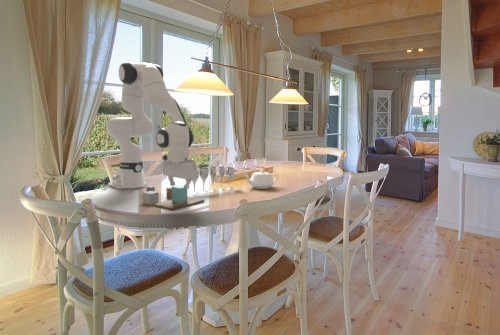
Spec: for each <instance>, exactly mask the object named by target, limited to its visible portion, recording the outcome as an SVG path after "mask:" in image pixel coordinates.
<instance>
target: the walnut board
mask: <svg viewBox="0 0 500 335" xmlns="http://www.w3.org/2000/svg"><path fill="white" fill-rule="evenodd" d="M198 203H199V204H203V203H205V199H201V198H197V197H192V196H189V195H187V202H184V203H180V204H179V203H174V202H172V199H168V200H164V201H161V202H160V201H159V203H155V204H153V206H154V207H156V206H157V208H160V207H161V209H164V208H165V210H168V211H176V210H181V209H183V207H184V208H187V207H191V206H194V204H195V205H199V204H198ZM190 205H191V206H190Z"/></svg>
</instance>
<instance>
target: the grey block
mask: <svg viewBox="0 0 500 335" xmlns="http://www.w3.org/2000/svg"><path fill="white" fill-rule="evenodd" d="M159 195H160V194H159V192H158V191H156V190H155V191H148V192H147V191H145V192H144V191H143V192H142V203H143V204H147V205H150V204H151V205H154V204H155V203H160V199H159V197H160V196H159Z"/></svg>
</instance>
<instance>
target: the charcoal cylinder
mask: <svg viewBox="0 0 500 335" xmlns="http://www.w3.org/2000/svg"><path fill="white" fill-rule="evenodd" d="M145 187H146V186H145ZM145 190H146V192H148V191H155V192H156V187H155V186H147V187H146V188H145Z"/></svg>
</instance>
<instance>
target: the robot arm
mask: <svg viewBox="0 0 500 335" xmlns="http://www.w3.org/2000/svg"><path fill="white" fill-rule="evenodd" d="M118 77H119V80H120V81H121V83H122V89H121V103H120V104H121V107H122V109H123V110H125V112H128V113H129V114H131V116H129V117H127V116H125V117H124V116H118V117H112V118H111V117H110V118H109V119H108V120H107V122H106V124H105V129H106V132H107V134H108V135H109V136H110V137H112V138H113V139H114V140H115V141H116V142H117V144H118V147H119V149H120V160H121V161H120V162H119V163H118V165H119V168H118V169H117V170H116V171H115V173H113V175H112V181H111V182H108V183H107V184H108V186H109V187H112V188H115V189H119V190H121V189H122V190H123V189H138V188H144V187H146V185H147V181H146V176H145V170H144V169H143V168H144V162H143V154H142V153H143V152H142V150H143V149H142V148H141V146H140V145H139V144H137V143H135V142H133V141H132V138H144V137H148V136H151V135H153V133H154V131H155V124H154V122H153V120H151V118H150V117H148V116H147V114H146V113H145V109H144V99H145V101H146V102H147V103H148V104H149V105H150V106H152V107H154V108H157V109H160V110H162V111H164V112H166V113H167V114H168V115H169V116H170V117H171V119H172V121H171V122H170V124H168V126H165V127H163V128H159V129H158V130H157V131H156V134H155V141H156V144H157V146H158V147H159V148H161V149H164V150H165V149H169V153H166V154H163V155H162V156H161V160H162V162H161V172H162V175H163V176H166V177H167V179H168V181H169V185H170V187H175V186H176V181H175V180H174V178H177V179H178V178H179V179H182V180H185V182H186V183H185V184H184V185H183V186H184V188H185V189H187V190H188V189H190V184H191V182H192V180H196V179H197V177H198V174H197V171H198V166H197V162H196V161H195V159H193V158H190V147H191V146H192V145H193V142H194V140H195V138H194V137H195V136H194V133H193V131H192V130H191V127H190V126H189V125H188V122H187V121H186V118H185V117H184V114H183V111H182V109H181V107H180V106H179V103H178V102H177V100H176V99H175V98H174V97H173V96H172V95H171V93H169V91H168V89H167V86H166V84H165V80H164V70H163V68H162V67H161V66H160V65H159V64H155V63H148V62H123V63H121V64H120V66H119V68H118Z"/></svg>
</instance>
